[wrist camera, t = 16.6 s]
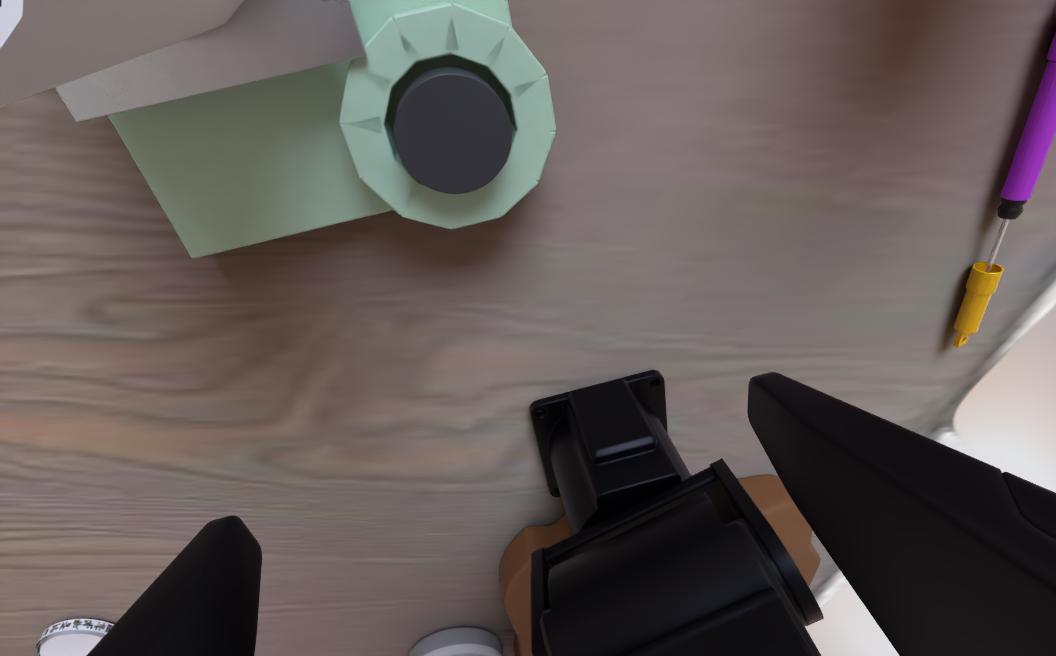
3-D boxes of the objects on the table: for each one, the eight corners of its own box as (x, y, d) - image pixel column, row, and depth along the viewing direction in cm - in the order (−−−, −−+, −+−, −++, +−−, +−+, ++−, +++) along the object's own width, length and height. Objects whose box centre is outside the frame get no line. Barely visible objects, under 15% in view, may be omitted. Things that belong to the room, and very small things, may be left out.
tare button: (514, 165, 17) (522, 180, 16) (414, 189, 17) (414, 206, 16) (491, 54, 15) (498, 60, 14) (380, 80, 15) (377, 88, 14)
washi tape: (22, 631, 28) (15, 644, 27) (102, 610, 28) (95, 622, 27) (72, 669, 30) (66, 681, 29) (145, 649, 30) (140, 661, 29)
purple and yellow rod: (1067, -21, 19) (940, 342, 28) (1108, -23, 18) (963, 353, 27) (1113, -33, 20) (975, 325, 29) (1155, -35, 19) (999, 336, 28)
